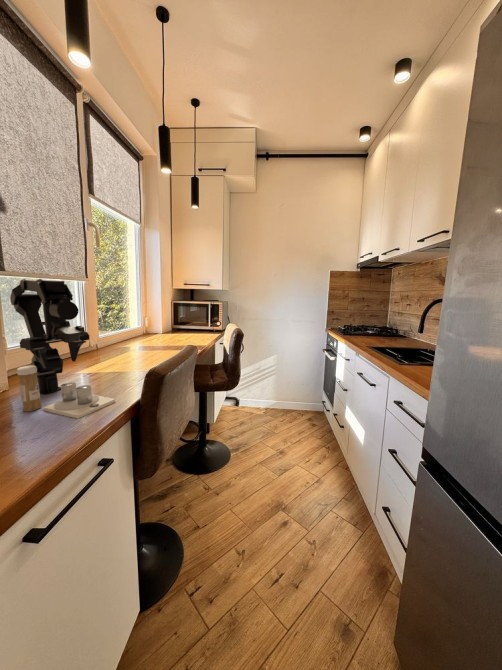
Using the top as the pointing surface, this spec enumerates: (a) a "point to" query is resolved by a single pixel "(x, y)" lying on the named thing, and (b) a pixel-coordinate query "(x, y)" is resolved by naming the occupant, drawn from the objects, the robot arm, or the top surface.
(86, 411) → the scale
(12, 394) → the top surface
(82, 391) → the cylinder
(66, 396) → the cylinder
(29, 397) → the sprinkles bottle
